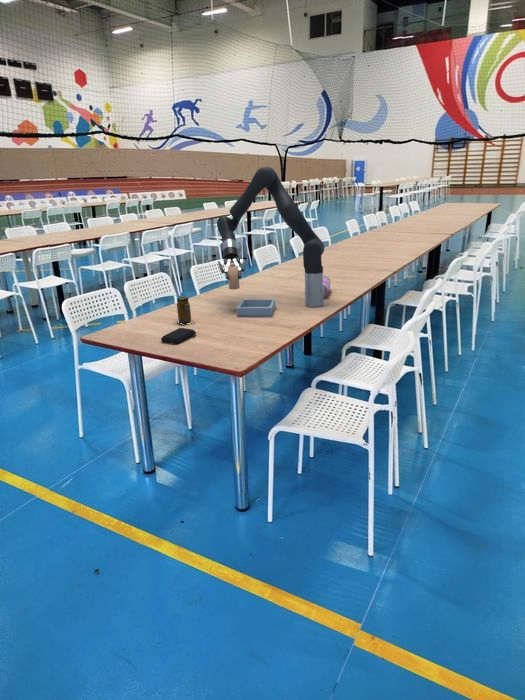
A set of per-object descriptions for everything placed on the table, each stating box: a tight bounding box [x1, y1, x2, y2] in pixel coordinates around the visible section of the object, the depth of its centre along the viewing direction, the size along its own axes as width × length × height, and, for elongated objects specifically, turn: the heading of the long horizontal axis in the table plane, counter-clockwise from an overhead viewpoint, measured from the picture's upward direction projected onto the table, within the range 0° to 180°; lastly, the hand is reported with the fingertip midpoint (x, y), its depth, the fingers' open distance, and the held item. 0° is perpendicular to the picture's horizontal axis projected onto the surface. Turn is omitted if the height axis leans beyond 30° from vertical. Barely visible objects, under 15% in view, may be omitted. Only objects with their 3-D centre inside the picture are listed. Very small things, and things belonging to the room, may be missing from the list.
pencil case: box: [323, 275, 331, 299], centre depth 265 cm, size 21×9×9 cm, turn 167°
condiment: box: [175, 296, 196, 326], centre depth 227 cm, size 7×8×12 cm
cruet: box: [227, 263, 240, 290], centre depth 236 cm, size 5×5×12 cm
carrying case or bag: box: [160, 327, 197, 345], centre depth 208 cm, size 11×3×15 cm
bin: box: [236, 298, 277, 318], centre depth 239 cm, size 17×16×4 cm
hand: (233, 278), depth 234 cm, fingers closed on cruet, 5 cm apart
